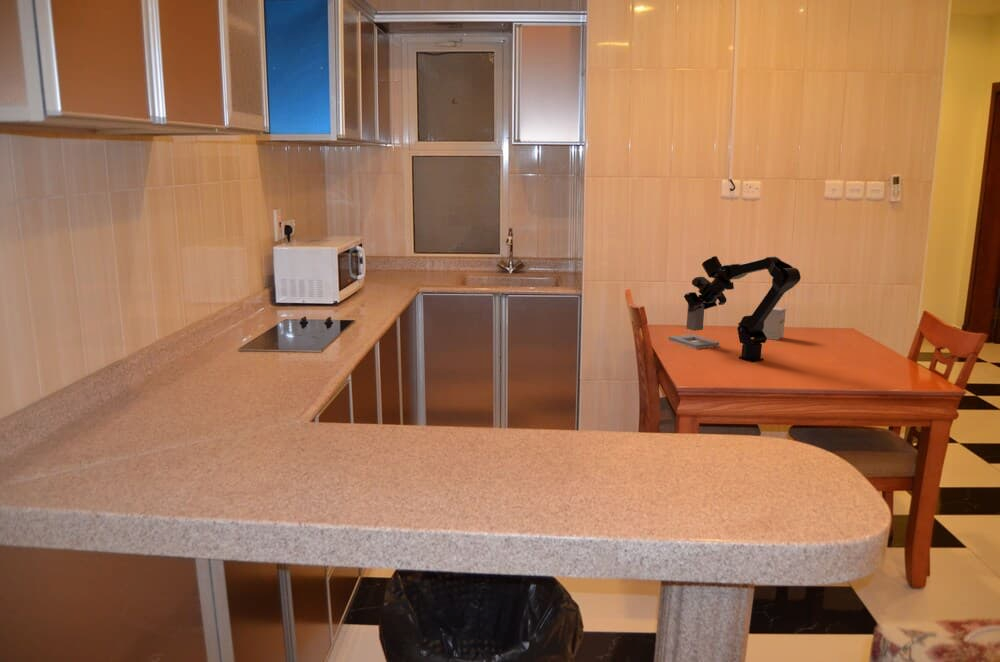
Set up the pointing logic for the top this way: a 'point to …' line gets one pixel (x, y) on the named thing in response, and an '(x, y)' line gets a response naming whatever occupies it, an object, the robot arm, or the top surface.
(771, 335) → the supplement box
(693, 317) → the plug
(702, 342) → the socket
